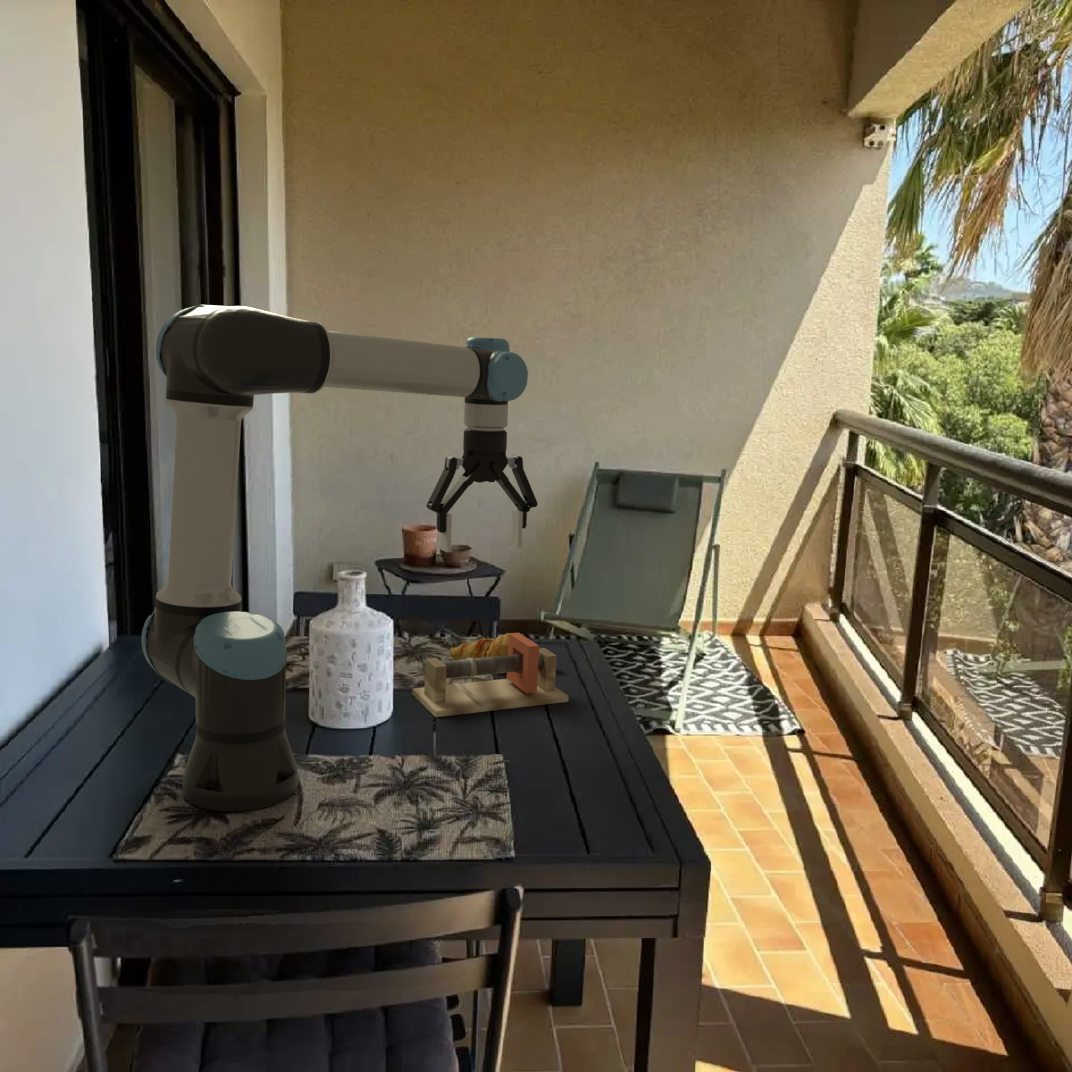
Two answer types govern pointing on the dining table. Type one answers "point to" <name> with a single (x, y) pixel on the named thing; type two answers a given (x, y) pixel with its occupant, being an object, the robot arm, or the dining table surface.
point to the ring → (524, 662)
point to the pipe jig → (485, 685)
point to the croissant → (482, 648)
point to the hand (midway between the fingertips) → (481, 548)
